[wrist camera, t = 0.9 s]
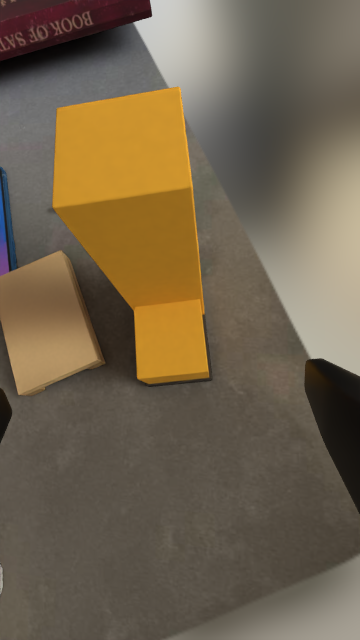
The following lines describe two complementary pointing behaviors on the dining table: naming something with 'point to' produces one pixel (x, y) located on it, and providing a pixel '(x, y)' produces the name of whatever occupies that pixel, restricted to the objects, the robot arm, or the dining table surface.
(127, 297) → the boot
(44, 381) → the thin tan notched panel
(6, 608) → the dining table surface
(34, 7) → the book
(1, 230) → the smartphone
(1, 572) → the bottle
